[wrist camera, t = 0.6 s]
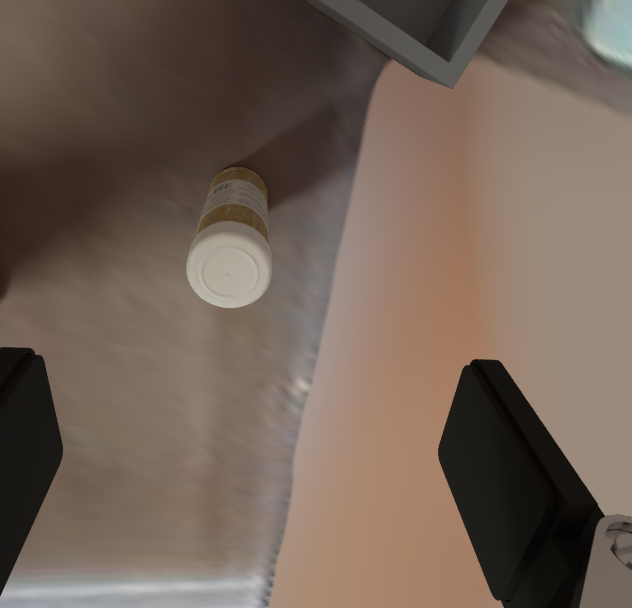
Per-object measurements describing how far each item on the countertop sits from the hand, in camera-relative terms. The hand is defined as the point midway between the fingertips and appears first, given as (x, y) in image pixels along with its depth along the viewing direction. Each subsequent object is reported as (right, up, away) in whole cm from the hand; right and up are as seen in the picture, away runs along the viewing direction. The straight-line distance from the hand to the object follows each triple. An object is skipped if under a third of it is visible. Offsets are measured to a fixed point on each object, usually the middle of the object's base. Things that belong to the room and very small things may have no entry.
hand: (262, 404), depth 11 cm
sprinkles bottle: (-5, +11, +26) cm, 29 cm away
